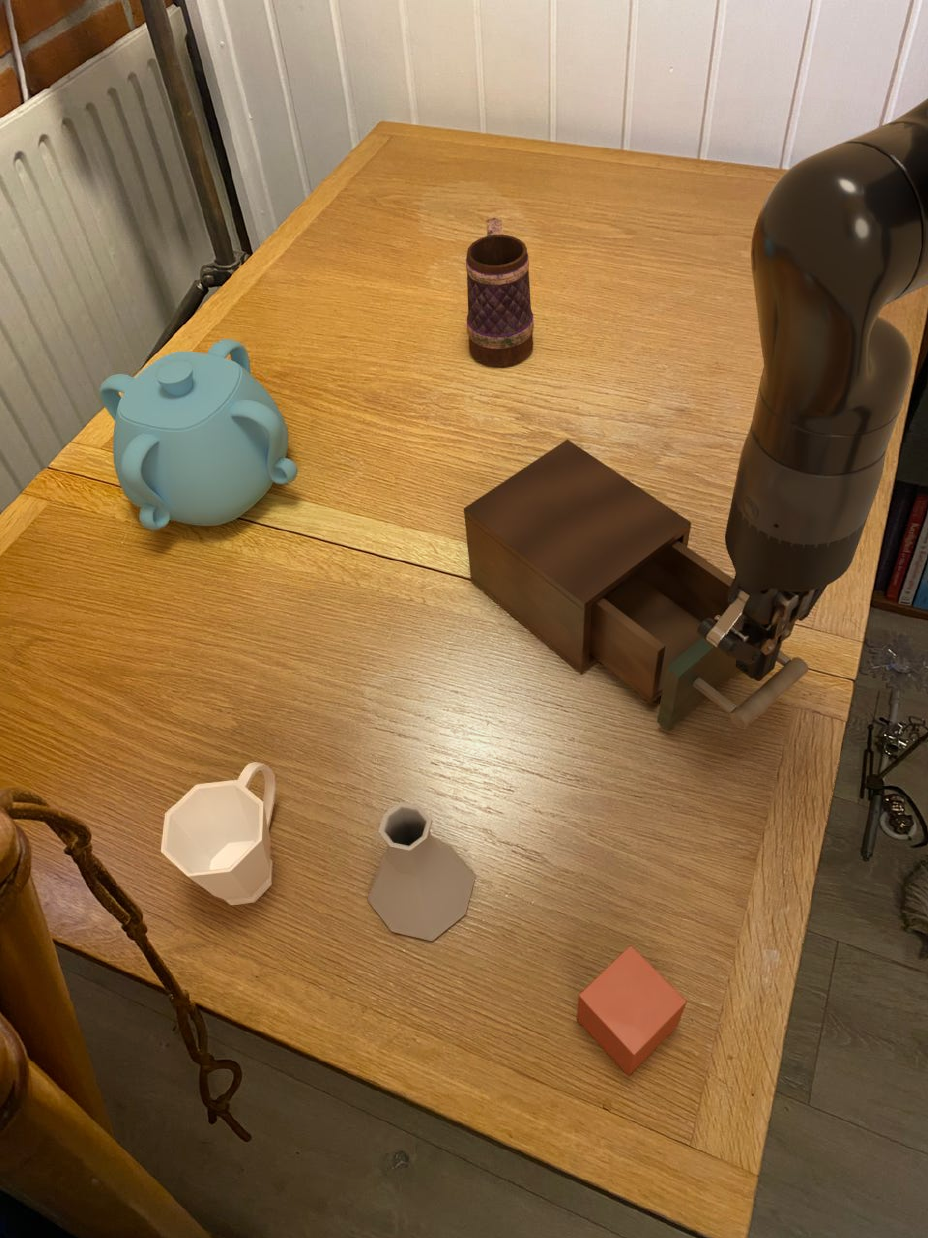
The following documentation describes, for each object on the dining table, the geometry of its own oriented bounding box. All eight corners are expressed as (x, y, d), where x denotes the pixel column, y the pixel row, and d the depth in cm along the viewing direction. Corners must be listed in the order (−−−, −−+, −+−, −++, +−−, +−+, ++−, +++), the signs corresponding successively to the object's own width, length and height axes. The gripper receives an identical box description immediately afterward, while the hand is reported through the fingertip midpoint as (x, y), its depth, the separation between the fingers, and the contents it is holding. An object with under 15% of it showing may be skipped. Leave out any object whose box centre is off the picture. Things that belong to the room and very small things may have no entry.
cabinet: (679, 597, 81) (691, 522, 74) (581, 675, 76) (584, 603, 69) (566, 514, 88) (567, 438, 80) (470, 581, 83) (463, 508, 76)
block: (625, 971, 62) (630, 944, 58) (678, 1025, 60) (687, 1001, 56) (576, 1019, 60) (578, 995, 56) (628, 1077, 58) (634, 1056, 54)
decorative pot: (127, 450, 98) (74, 338, 87) (281, 411, 100) (247, 296, 89) (141, 563, 88) (83, 452, 77) (311, 517, 90) (278, 402, 79)
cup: (177, 909, 67) (138, 862, 60) (239, 786, 72) (209, 730, 66) (268, 937, 65) (237, 890, 59) (323, 808, 71) (301, 753, 64)
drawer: (809, 692, 73) (832, 634, 67) (720, 774, 69) (735, 721, 63) (640, 568, 82) (647, 508, 76) (552, 635, 78) (553, 578, 72)
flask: (436, 961, 63) (419, 904, 55) (349, 906, 66) (322, 843, 58) (493, 872, 67) (486, 806, 59) (409, 823, 70) (391, 754, 62)
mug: (535, 367, 101) (533, 264, 92) (468, 370, 101) (459, 268, 92) (532, 310, 107) (530, 208, 98) (469, 313, 108) (461, 212, 98)
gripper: (781, 590, 50) (734, 757, 64) (929, 467, 55) (856, 647, 68) (673, 517, 54) (650, 689, 67) (819, 408, 59) (771, 589, 72)
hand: (754, 668), depth 68 cm, fingers closed
